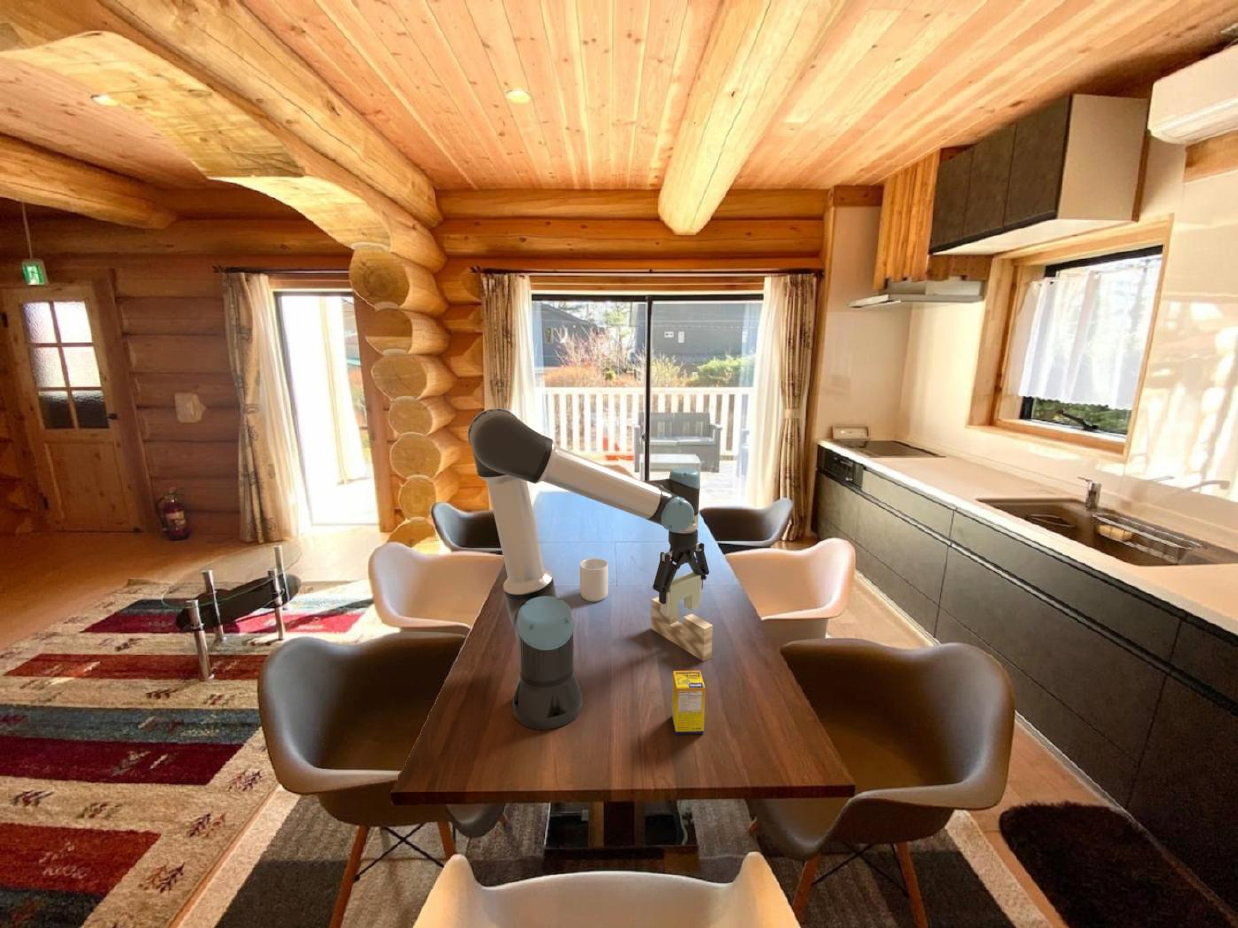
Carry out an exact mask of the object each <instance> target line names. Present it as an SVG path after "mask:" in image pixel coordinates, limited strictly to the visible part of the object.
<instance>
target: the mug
mask: <svg viewBox="0 0 1238 928" xmlns="http://www.w3.org/2000/svg"><path fill="white" fill-rule="evenodd" d="M579 585H580V586H579V587H580V588H579V589H580V590H579V591H580V592H579V593H580V596H581V598H583V600H585V601H588V602H591V603H593V602H595V603H597V602H600V601H602V600H605V598H607V596H608V594H609V562H608V561H607V560H604V559H602V558H586V559H584V560H582V561H580V564H579Z"/></svg>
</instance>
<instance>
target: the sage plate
mask: <svg viewBox="0 0 1238 928" xmlns="http://www.w3.org/2000/svg"><path fill="white" fill-rule="evenodd" d="M700 581H701V576H700V575H698V574H695V573H694V572H693V571H692V572H690V573H687V574H684V575H681V576H678V577H674V578H673V580H672V582H671V585H670V587H669V589H668V591H669V592H670V612H669V616H666V615H664V614H662V615H663V616H665V617H666V618H668V619H672V618H675V617H677V616H678V617H679V605H680V604H679V601H680V600H682V599H683V607H685V608H687V609H688V610H691V611H693V610H695V609H696V610H697V609H698V608H700V605H701V602H700Z"/></svg>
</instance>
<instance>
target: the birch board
mask: <svg viewBox="0 0 1238 928" xmlns="http://www.w3.org/2000/svg"><path fill="white" fill-rule="evenodd" d="M650 608H651V614H650V615H651V617H650V618H651V619H650V620H651V621H650V622H651V623H650V629H651V630H653V631H654V632H656V633H657V634H659V635H661V636H662V637H664V638H666V639H667V640H668V641H670V642H672V643H673V644H675V645H677V646H678V647H679V648H681V649H682V650H684V651H686V652H688V653H689V654H691V655H692V656H694V657H696V658H697V659H699V660H700V661H702V662H705V661H707V660H708V659H711V658H712V656H713V655H712V652H713V651H712V649H713V634H714V633H713V631H714V630H713V629H714V625H713V624H711V623H709V622H707V621H706V620H704V619H702V618H701V617H698V616H696V615H695V614H693V613H690V614H687V615H685V616H683V619H682V623H681V622H679V615H678V616H677V617H675V618H672V619H668V618H666V617H665V616H663V615H662V613H661V612H660V602H659V596H656V597H654V598H651V607H650Z"/></svg>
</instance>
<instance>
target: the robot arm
mask: <svg viewBox="0 0 1238 928" xmlns="http://www.w3.org/2000/svg"><path fill="white" fill-rule="evenodd" d="M467 440H468V444H469V446H470V447H471V450H472V456H473V459H474V463H475V469H476V472H477V477H478V478H479V479H482V481H485V482H486V484H487V489H488V493H489V497H490V502H491V507H492V512H493V515H494V521H495V526H496V529H497V533H498V539H499V543H500V548H501V552H502V556H503V557H502V558H503V561H504V566H505V570H506V574H507V575H506V576H507V578H506V580H505V581H504V582H503V591H504V597H505V602H506V603H505V608H506V612H507V614H508V617H509V619H510V622H511V625H512V629H513V631H514V635H515V638H516V641H517V645H518V662H519V663H518V665H519V678H518V681H517V685H516V687H515V691H514V694H513V698H512V712H513V715H514V717H515V718H516V720H517V722H519V723H520V724H521V725H523V726H525V727H528V728H531V729H535V730H551V729H556V728H560V727H562V726H565V725H567V724H569V723H570V722H572V721H574V720H575V719H576V718H577V717H578V715H579V714H580V712H581V711H582V707H583V693H582V689H581V687H580V684H579V681H578V678H577V676H576V674H575V667H574V664H575V661H574V627H575V623H574V622H575V621H574V617H573V611H572V609H571V606H569V604H568V603H567V602H566V601H564V600H563V599H558V597H557V592H556V587H555V582H554V577H553V573H552V572H551V571H550V570H547V569H546V568H545V565H544V561H543V560H544V559H543V555H542V550H541V545H540V540H539V533H538V530H537V525H536V520H535V514H534V511H533V506H532V501H531V495H530V490H529V485H528V482H529V483H531V484H535V485H536V484H539V483H541V482H544V483H545V484H546V483H547V484H549V485H552V486H553V487H557V488H559V489H563V490H565V491H569V492H571V493H573V494H576V495H579V496H582V497H585V498H587V499H591V500H592V501H595V502H598V503H601V504H604V505H606V506H609V507H612V508H615V509H617V510H620V511H623V512H625V513H628V514H631V515H634V516H636V517H639V518H642V519H645V520H647V521H649V522H652V523H655V524H656V525H659V526H662V527H663V528H664V529H665V530H667V531H668V537H667V538H668V543H669V546H670V547H669V550H668V551H666V552H663V551H661V552H660V553H659V563H658V567H657V569H656V574H655V578H654V581H653V585H652V590H654V591H656V592H658V597H659V602H660V612H661V613H662V614H664V615H666V616H669V612H670V592H669V591H668V589H669V587H670V585H671V582H672V580H673V579H675V576H676V573H677V571H678V570H679V569H681V566H682V565H684V564H688V565H689V568H690V569H691V571H692V572H693V573H695V574H698V575H700V576H701V581H700V603H702V593H703V592H702V591H703V590H702V589H703V587H704V581H706V580H707V576H708V575H709V574H710V569H709V566H708V562H707V557H706V553H705V544H704V543H703V542H700V541H699V540H698V539H699V530H698V528H699V510H700V509H699V507H700V490H701V482H700V479H701V478H700V473H699V471H698V470H695V469H693V468H687V467H686V468H685V467H678V468H673V469H671V471H669V472H670V473H669V475H668V478H664V479H663V478H662V479H653V480H651V479H650V480H640V479H638V478H635V477H632V476H630V475H628V474H626V473H624V472H621V471H618V470H615V469H613V468H611V467H608V466H606V465H603V464H601V463H599V462H596V461H594V460H591V459H588V458H586V457H584V456H581V455H579V454H576V453H574V452H571V451H569V450H566V449H564V448H562V447H559V446H557V445H556V444H555V440H554V439H553V438H550V437H548V436H545V435H543V434H541V433H539V432H538V431H535V430H534V429H533V428H531V427H529V425H527V424H526V423H524V422H523V421H522V420H521V419H519V418H518V417H517V416H516V415H515V414H514V413H513V412H511V411H509V410H507V409H504V408H489V409H486V410H484V411H482V412H480V413H478V414H477V415H476V416H475V417H474V418H473V419H472V421H471V423H470V424H469V427H468V431H467Z"/></svg>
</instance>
